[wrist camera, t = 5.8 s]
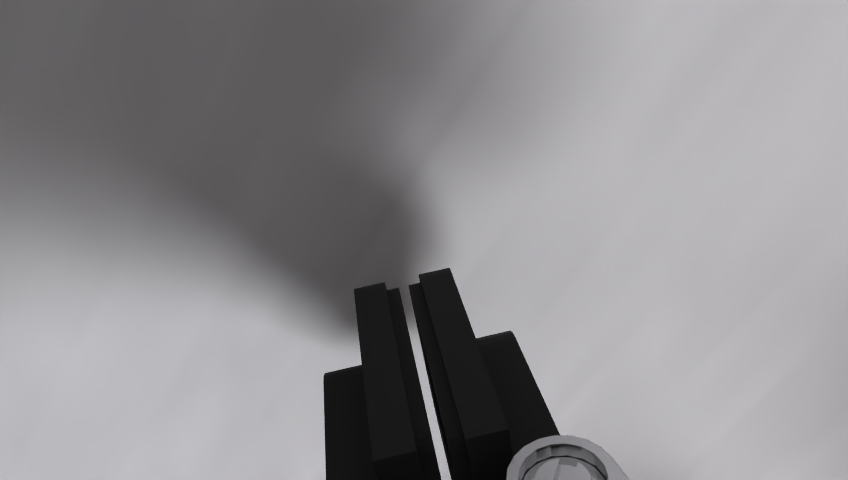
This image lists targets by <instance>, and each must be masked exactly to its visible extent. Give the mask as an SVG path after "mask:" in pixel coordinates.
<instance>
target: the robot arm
mask: <svg viewBox="0 0 848 480" xmlns="http://www.w3.org/2000/svg"><path fill="white" fill-rule="evenodd" d="M419 279H420V283H417V284H413V285H409V290H410V295H411V299H412V304H413V309H414V314H415V318H416V323H417V328H418V332H419V337H420V342H421V346H422V351H423V356H424V360H425V365H426V370H427V375H428V379H429V384H430V389H431V393H432V398H433V403H434V407H435V412H436V416H437V421H438V425H439V429H440V433H441V437H442V442H443V446H444V450H445V454H446V458H447V463H448V467H449V471H450V475H451V479H452V480H629V478H628V477H627V476H626V474H625V473H624V472H623V470H622V469H621V468H620V467H619V465H618V464H617V463H616V461H615V460H614V459H613V457H611V456H610V455H609V454H608V453H607V452H606V451H605V450H604V449H603V448H602V447H601V446H599V445H597V444H595V443H593V442H591V441H589V440H587V439H583V438H579V437H575V436H563V435H560V434H559V432H558V430H557V428H556V425H555V423H554V421H553V419H552V417H551V414H550V412H549V410H548V408H547V406H546V404H545V401H544V399H543V397H542V395H541V393H540V390H539V388H538V386H537V384H536V382H535V379H534V377H533V375H532V373H531V371H530V369H529V366H528V364H527V362H526V360H525V358H524V355H523V353H522V351H521V349H520V347H519V344H518V342H517V340H516V338H515V336H514V334H513V332H511V331H507V332H503V333H498V334H494V335H489V336H485V337H481V338H475V335H474V333H473V330H472V327H471V324H470V322H469V319H468V316H467V314H466V311H465V308H464V305H463V303H462V300H461V297H460V294H459V292H458V289H457V286H456V284H455V281H454V278H453V275H452V273H451V270H450V268H446V269H442V270H437V271H433V272H429V273H424V274H420V275H419ZM354 295H355V304H356V313H357V323H358V332H359V341H360V351H361V360H362V365H359V366H355V367H350V368H346V369H342V370H337V371H333V372H329V373H325V374H324V415H325V455H326V480H441V476H440V472H439V467H438V463H437V458H436V454H435V449H434V445H433V440H432V436H431V431H430V427H429V422H428V418H427V413H426V409H425V404H424V400H423V395H422V390H421V386H420V381H419V377H418V372H417V368H416V363H415V359H414V354H413V350H412V345H411V341H410V336H409V332H408V327H407V323H406V318H405V314H404V309H403V305H402V300H401V296H400V291H399V288H395V289H391V290H387V289H386V285H385V282H384V283H379V284H375V285H370V286H366V287H362V288H357V289H354Z"/></svg>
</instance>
